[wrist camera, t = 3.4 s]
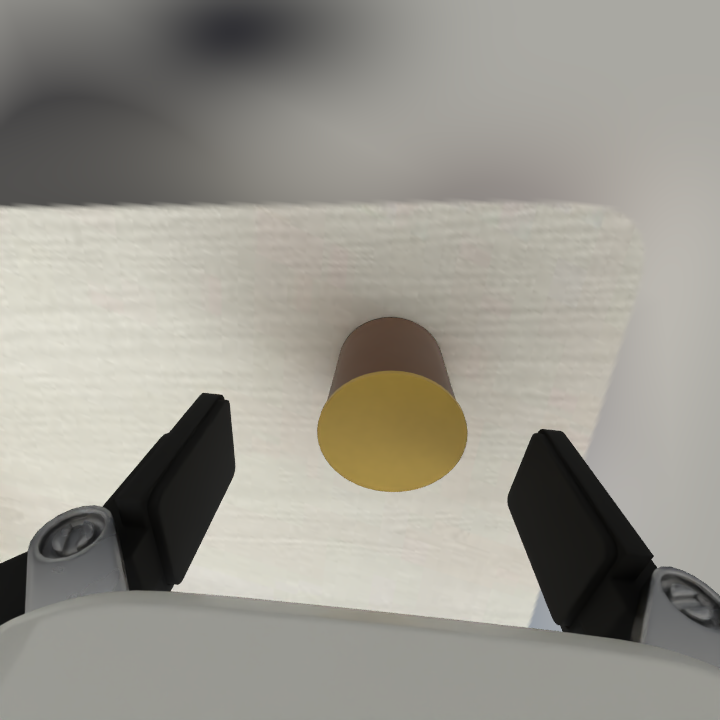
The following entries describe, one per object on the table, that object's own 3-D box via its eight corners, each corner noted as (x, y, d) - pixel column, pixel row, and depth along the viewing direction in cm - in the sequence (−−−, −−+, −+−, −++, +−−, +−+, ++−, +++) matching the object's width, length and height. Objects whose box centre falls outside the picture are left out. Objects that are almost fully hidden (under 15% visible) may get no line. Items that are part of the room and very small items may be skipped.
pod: (454, 321, 15) (484, 383, 10) (433, 415, 17) (449, 499, 12) (340, 308, 15) (320, 364, 10) (333, 403, 17) (314, 483, 12)
